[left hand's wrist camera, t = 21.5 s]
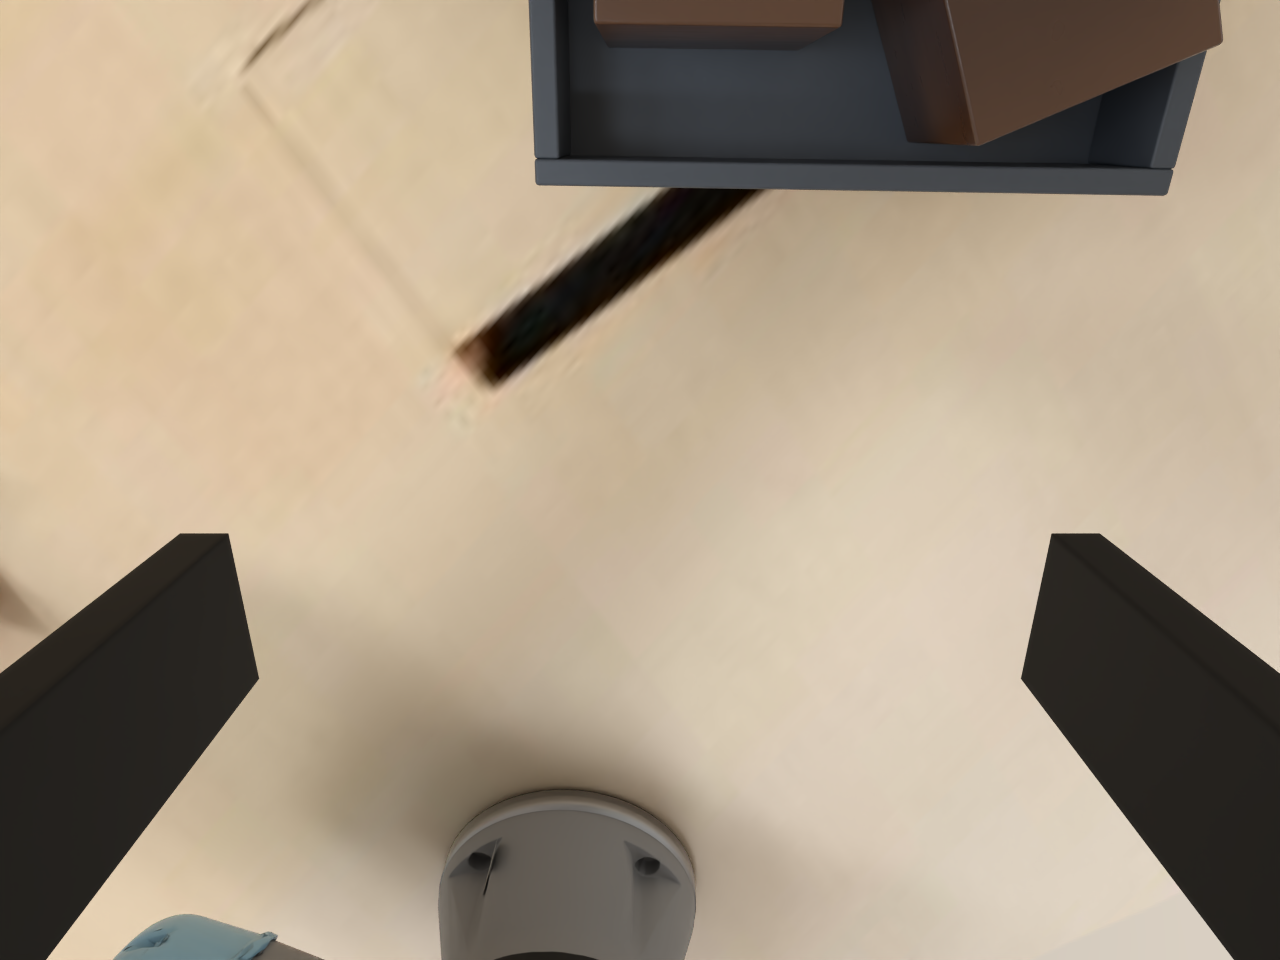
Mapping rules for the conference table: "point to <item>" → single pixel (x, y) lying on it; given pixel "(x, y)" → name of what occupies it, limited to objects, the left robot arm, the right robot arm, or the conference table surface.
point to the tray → (816, 120)
